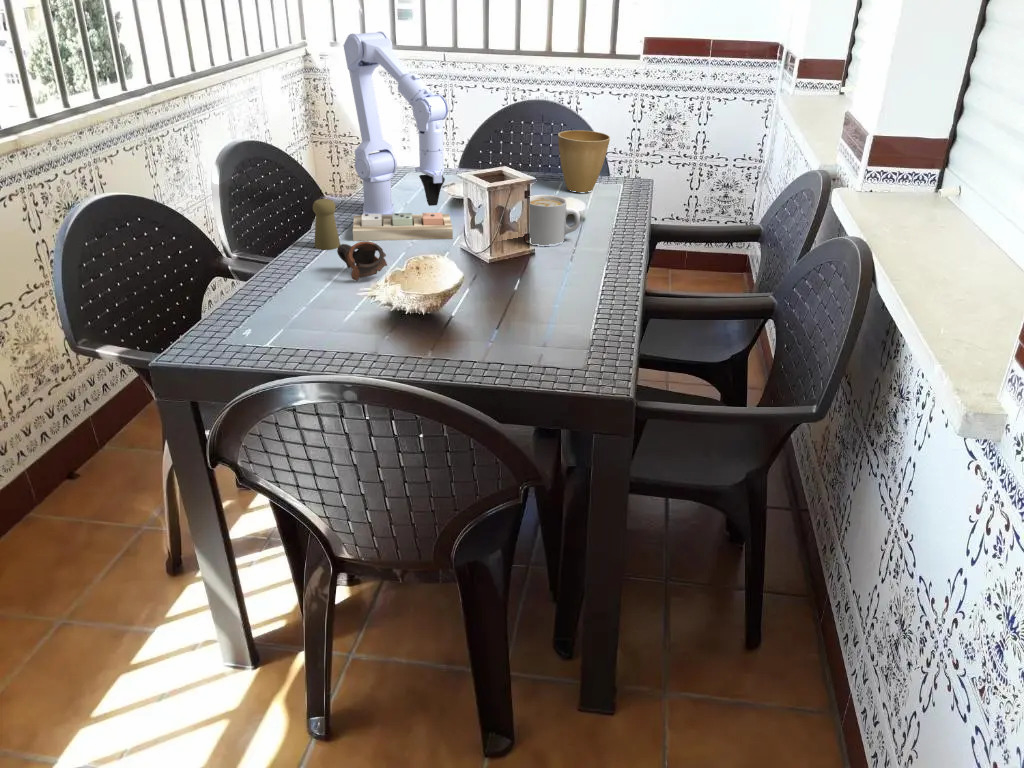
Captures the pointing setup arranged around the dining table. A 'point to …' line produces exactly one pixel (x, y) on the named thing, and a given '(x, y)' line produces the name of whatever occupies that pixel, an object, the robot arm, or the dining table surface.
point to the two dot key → (371, 220)
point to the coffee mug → (550, 219)
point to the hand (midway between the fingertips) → (432, 204)
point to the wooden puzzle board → (402, 229)
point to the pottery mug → (362, 258)
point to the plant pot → (582, 158)
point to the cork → (325, 225)
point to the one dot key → (432, 219)
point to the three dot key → (402, 219)
